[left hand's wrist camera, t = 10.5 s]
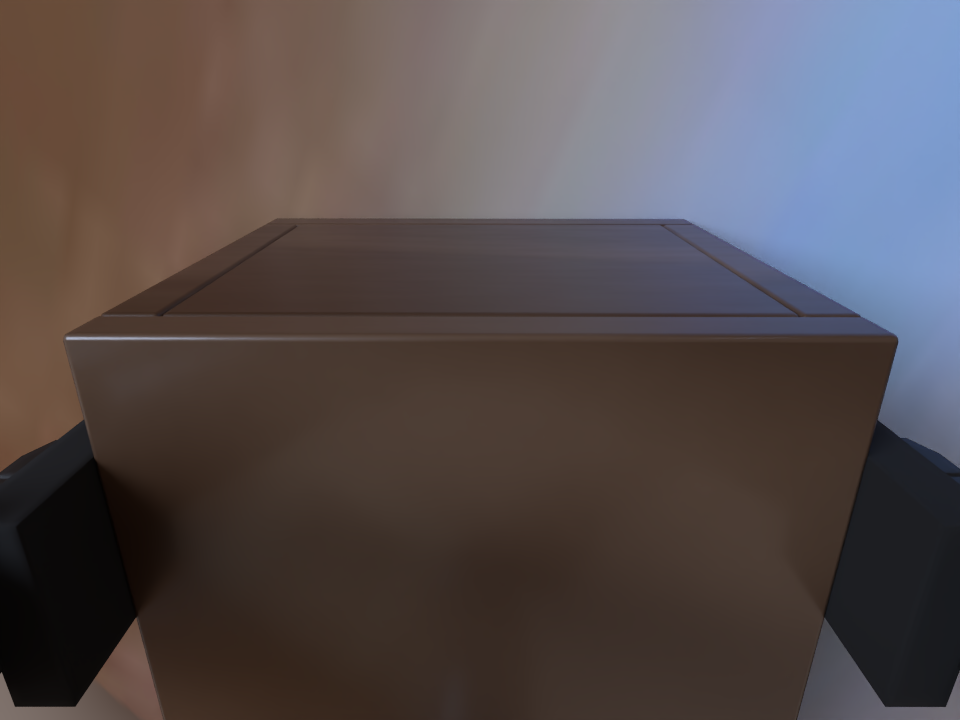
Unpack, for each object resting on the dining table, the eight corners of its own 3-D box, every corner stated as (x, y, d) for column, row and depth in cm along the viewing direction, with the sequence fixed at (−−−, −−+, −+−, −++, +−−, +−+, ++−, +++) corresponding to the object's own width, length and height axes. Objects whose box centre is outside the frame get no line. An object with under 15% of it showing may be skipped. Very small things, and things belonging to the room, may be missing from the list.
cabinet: (617, 777, 23) (688, 1128, 15) (341, 777, 23) (269, 1128, 15) (685, 218, 15) (903, 336, 7) (274, 218, 15) (57, 334, 7)
